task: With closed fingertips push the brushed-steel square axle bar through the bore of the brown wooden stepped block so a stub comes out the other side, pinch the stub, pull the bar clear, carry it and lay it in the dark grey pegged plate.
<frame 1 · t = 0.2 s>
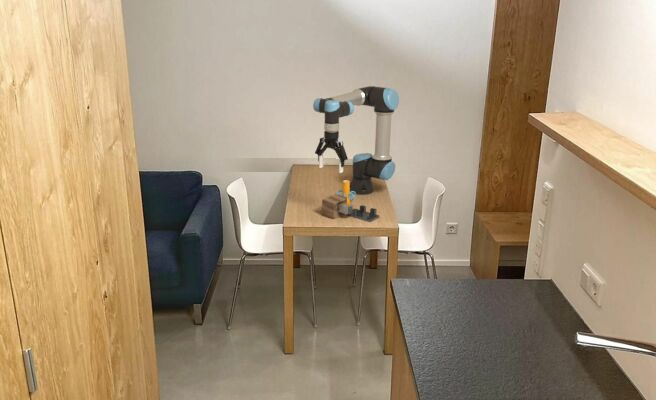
hand: (330, 169, 325), 28 cm above the table, fingers open, 13 cm apart
orange post with rings: (345, 206, 353), on the table
dark grey pegged plate: (361, 215, 339), on the table
brown wooden stepped block: (334, 214, 340), on the table
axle: (339, 210, 337), point 3 cm above the table, touching brown wooden stepped block
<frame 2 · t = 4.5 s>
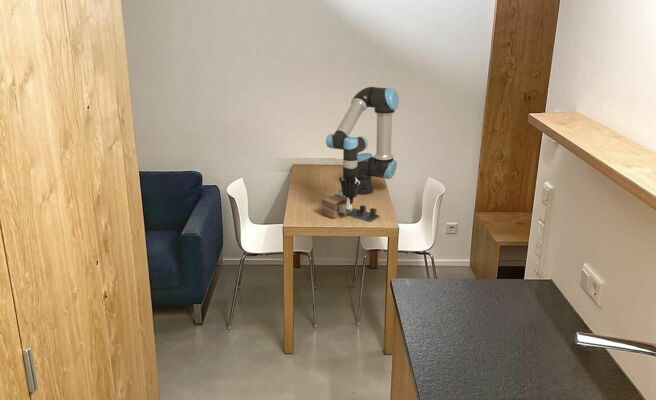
hand: (349, 208, 332), 6 cm above the table, fingers closed
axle: (336, 209, 338), point 3 cm above the table, touching gripper
everything else where it was.
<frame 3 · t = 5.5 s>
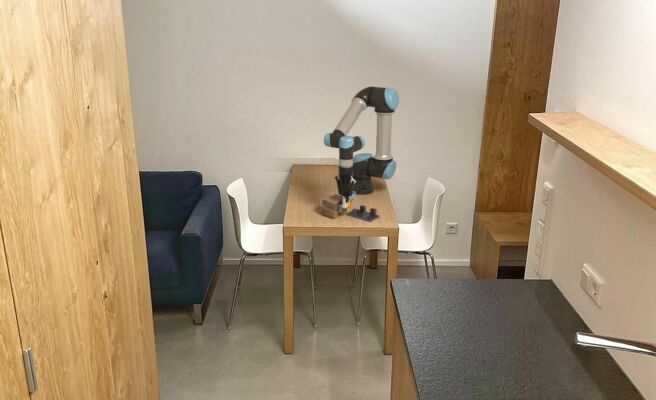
hand: (345, 207, 334), 6 cm above the table, fingers closed
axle: (332, 208, 339), point 3 cm above the table, touching brown wooden stepped block, gripper
everything else where it was.
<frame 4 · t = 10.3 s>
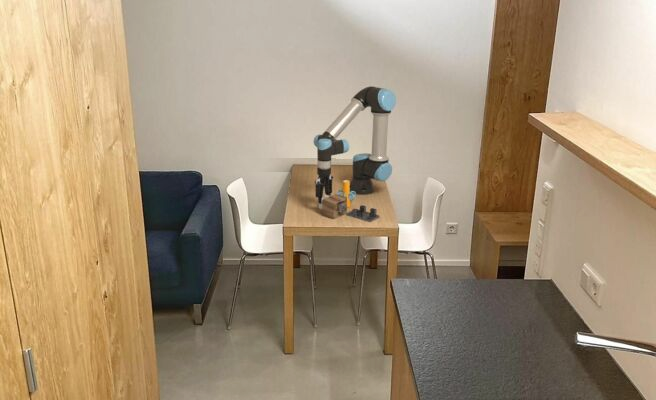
hand: (323, 207, 344), 2 cm above the table, fingers closed on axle, 4 cm apart
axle: (332, 208, 339), point 3 cm above the table, touching brown wooden stepped block, gripper
everything else where it was.
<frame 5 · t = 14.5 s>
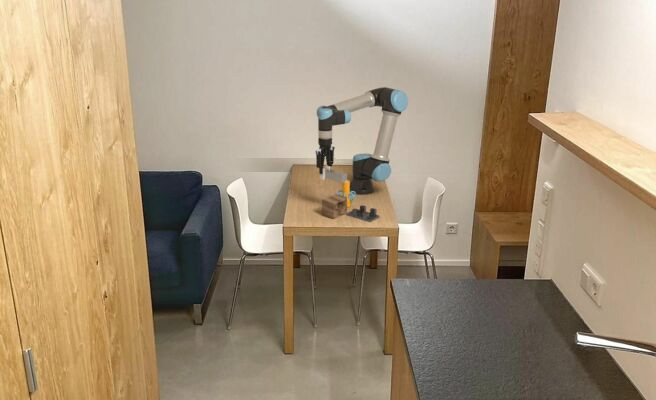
hand: (325, 178, 342), 18 cm above the table, fingers closed on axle, 4 cm apart
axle: (334, 178, 337), point 19 cm above the table, touching gripper
everything else where it was.
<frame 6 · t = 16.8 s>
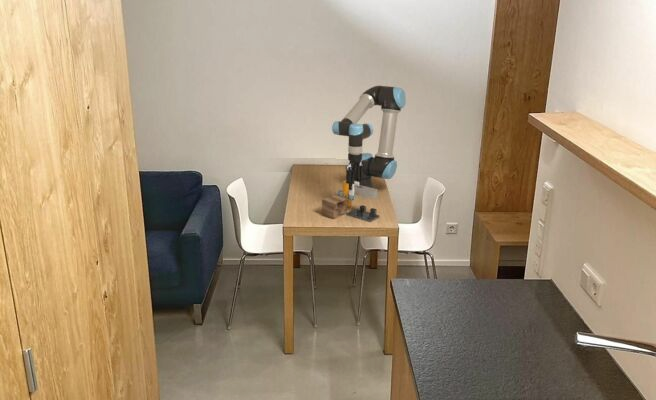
hand: (353, 193, 338), 12 cm above the table, fingers closed on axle, 4 cm apart
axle: (363, 194, 333), point 13 cm above the table, touching gripper
everything else where it was.
when the fingers open (2 cm above the table, at t = 18.8 s): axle stays where it is, resting on dark grey pegged plate.
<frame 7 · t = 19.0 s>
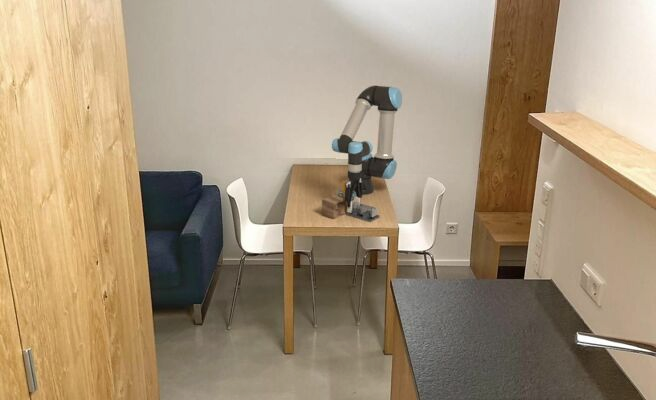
hand: (353, 210, 341), 2 cm above the table, fingers open, 7 cm apart
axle: (363, 213, 337), point 2 cm above the table, touching dark grey pegged plate
everything else where it was.
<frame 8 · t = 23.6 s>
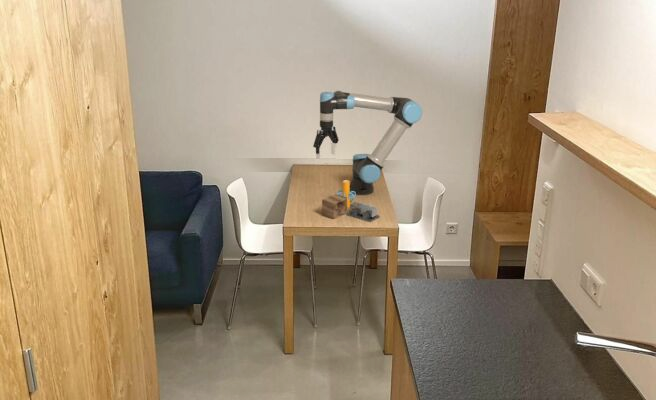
hand: (326, 156, 353), 27 cm above the table, fingers open, 13 cm apart
nothing on the table moved.
at the end: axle 1.2 cm off-centre on the dark grey pegged plate, point 2.0 cm above the dark grey pegged plate's base; the gripper is holding nothing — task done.
